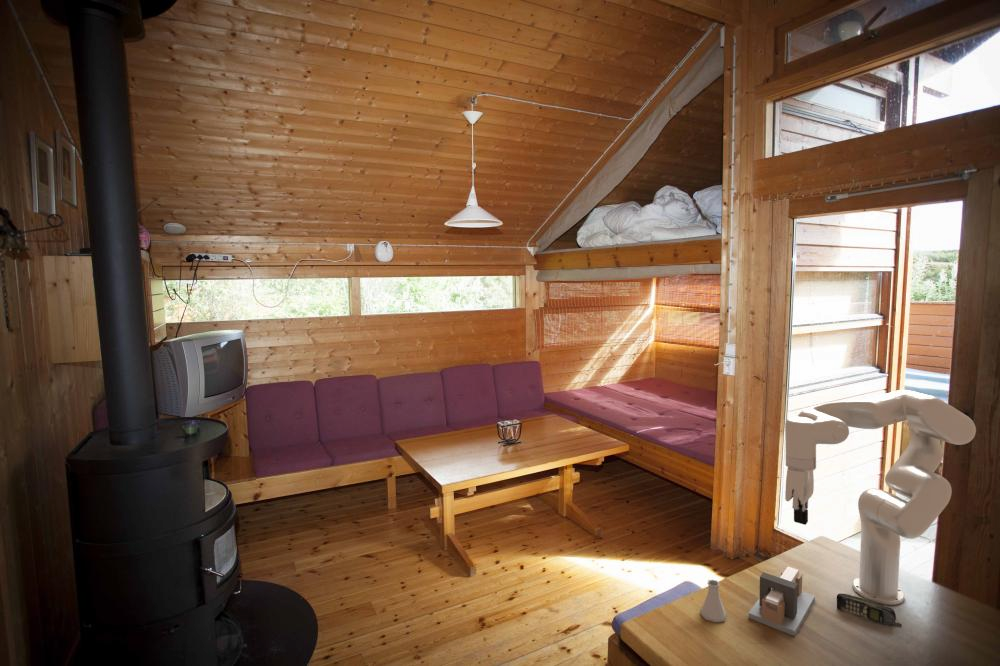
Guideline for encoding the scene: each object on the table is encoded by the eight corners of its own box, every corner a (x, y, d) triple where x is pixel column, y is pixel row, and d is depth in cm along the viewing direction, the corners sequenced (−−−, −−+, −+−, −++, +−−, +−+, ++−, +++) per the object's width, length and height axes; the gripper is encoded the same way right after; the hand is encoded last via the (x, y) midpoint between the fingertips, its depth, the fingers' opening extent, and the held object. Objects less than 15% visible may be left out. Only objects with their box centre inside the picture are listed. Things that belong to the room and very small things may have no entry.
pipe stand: (771, 585, 167) (771, 560, 166) (814, 600, 158) (815, 574, 157) (748, 617, 152) (748, 590, 151) (794, 636, 144) (795, 608, 143)
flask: (729, 624, 150) (729, 591, 149) (702, 622, 152) (702, 589, 150) (724, 608, 157) (724, 576, 156) (698, 606, 159) (698, 574, 157)
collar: (762, 600, 156) (763, 572, 155) (796, 613, 150) (797, 583, 149) (759, 605, 154) (759, 576, 153) (793, 618, 148) (794, 588, 147)
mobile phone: (836, 595, 153) (901, 613, 144) (837, 590, 156) (902, 607, 146) (836, 611, 154) (901, 630, 144) (837, 606, 156) (901, 624, 147)
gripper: (794, 450, 159) (795, 509, 161) (777, 466, 149) (777, 528, 151) (823, 455, 154) (823, 516, 156) (807, 472, 143) (807, 537, 146)
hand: (800, 522), depth 154 cm, fingers closed
